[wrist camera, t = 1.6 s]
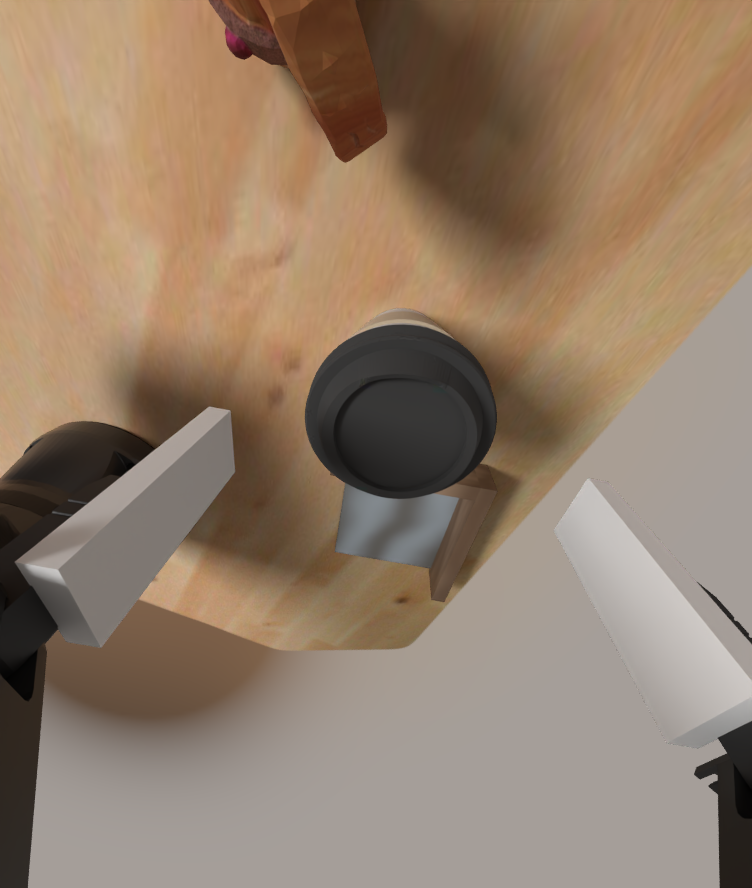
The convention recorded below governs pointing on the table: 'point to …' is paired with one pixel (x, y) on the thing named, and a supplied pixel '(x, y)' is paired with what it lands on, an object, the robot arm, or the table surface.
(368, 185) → the table surface
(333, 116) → the mug
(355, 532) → the arena
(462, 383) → the coffee cup
